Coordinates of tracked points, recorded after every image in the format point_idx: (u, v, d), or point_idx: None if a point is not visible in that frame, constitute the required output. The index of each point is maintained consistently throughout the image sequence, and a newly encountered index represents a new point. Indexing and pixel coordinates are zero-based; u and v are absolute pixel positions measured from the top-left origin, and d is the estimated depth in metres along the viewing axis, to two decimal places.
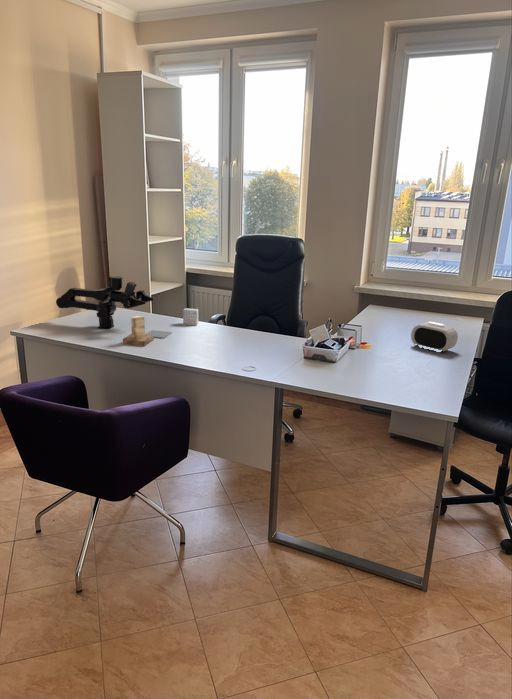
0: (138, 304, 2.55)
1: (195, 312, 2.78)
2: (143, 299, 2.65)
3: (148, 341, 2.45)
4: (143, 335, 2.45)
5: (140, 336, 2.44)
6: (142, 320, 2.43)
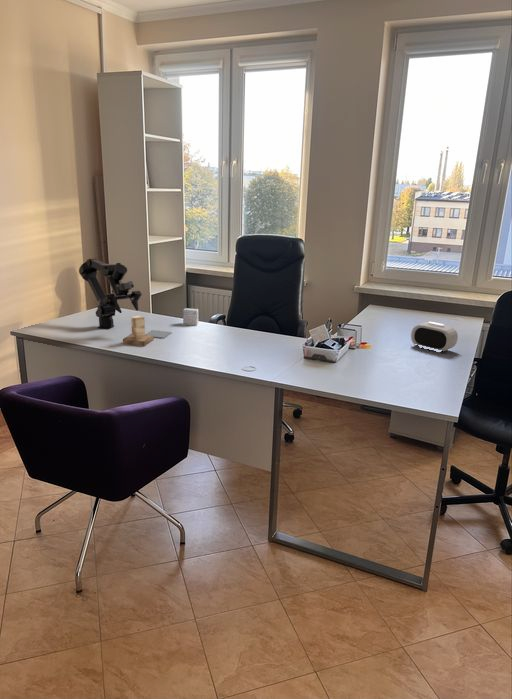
0: (115, 308, 2.46)
1: (195, 312, 2.78)
2: (133, 301, 2.54)
3: (148, 341, 2.45)
4: (143, 335, 2.45)
5: (140, 336, 2.44)
6: (142, 320, 2.43)
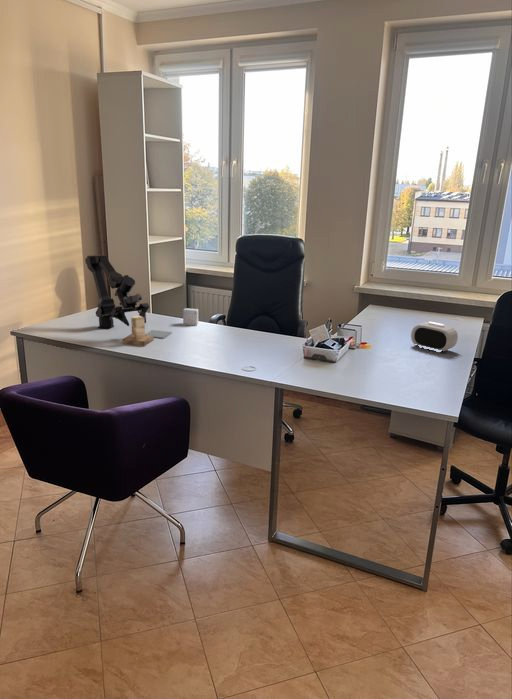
0: (123, 321, 2.42)
1: (195, 312, 2.78)
2: (141, 314, 2.50)
3: (148, 341, 2.45)
4: (143, 335, 2.45)
5: (140, 336, 2.44)
6: (142, 320, 2.43)
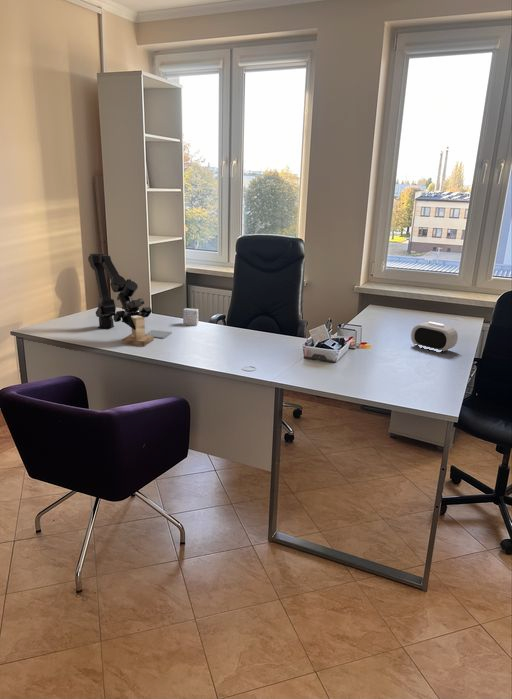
0: (129, 325, 2.43)
1: (195, 312, 2.78)
2: None
3: (148, 341, 2.45)
4: (143, 335, 2.45)
5: (140, 336, 2.44)
6: (142, 320, 2.43)
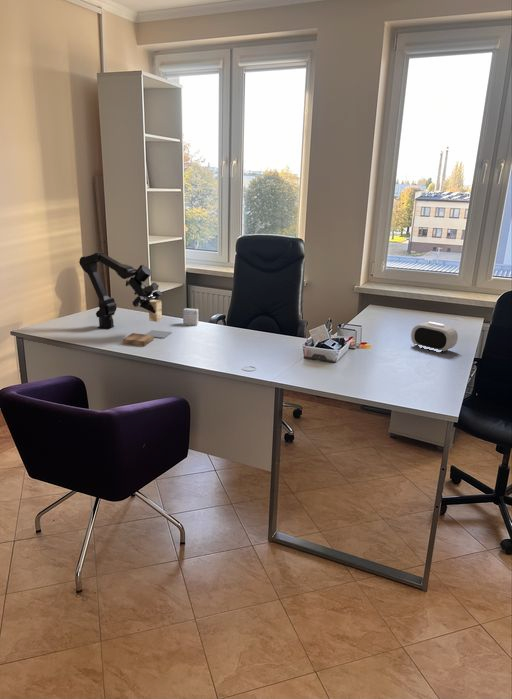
0: (148, 309, 2.51)
1: (195, 312, 2.78)
2: None
3: (148, 341, 2.45)
4: (160, 318, 2.55)
5: (159, 319, 2.54)
6: (160, 303, 2.53)
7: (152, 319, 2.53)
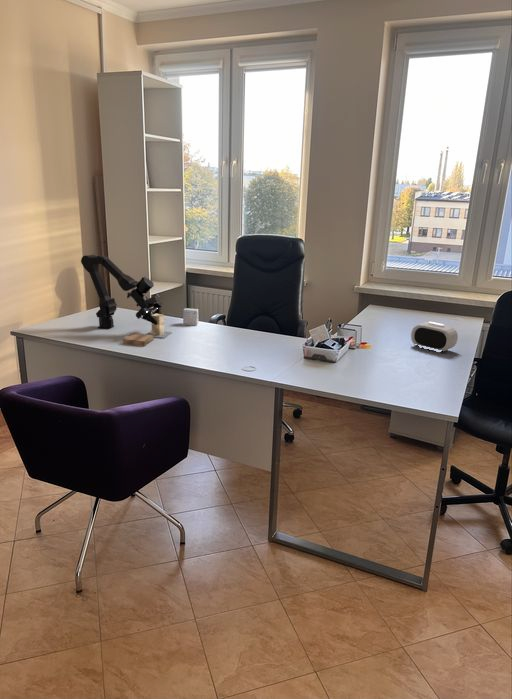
0: (150, 320, 2.54)
1: (195, 312, 2.78)
2: (155, 313, 2.61)
3: (148, 341, 2.45)
4: (163, 331, 2.60)
5: (161, 332, 2.59)
6: (162, 317, 2.58)
7: (155, 333, 2.58)
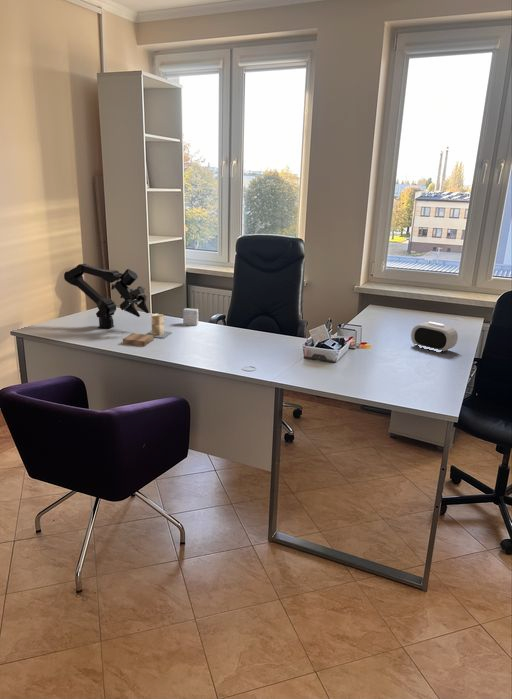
0: (132, 313, 2.55)
1: (195, 312, 2.78)
2: (140, 305, 2.65)
3: (148, 341, 2.45)
4: (163, 331, 2.60)
5: (161, 332, 2.59)
6: (162, 317, 2.58)
7: (155, 333, 2.58)
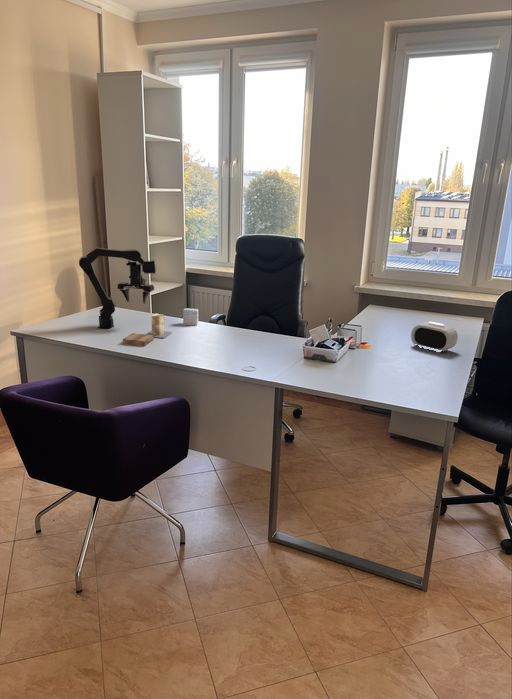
0: (145, 298, 2.68)
1: (195, 312, 2.78)
2: (126, 291, 2.69)
3: (148, 341, 2.45)
4: (163, 331, 2.60)
5: (161, 332, 2.59)
6: (162, 317, 2.58)
7: (155, 333, 2.58)
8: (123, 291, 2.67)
